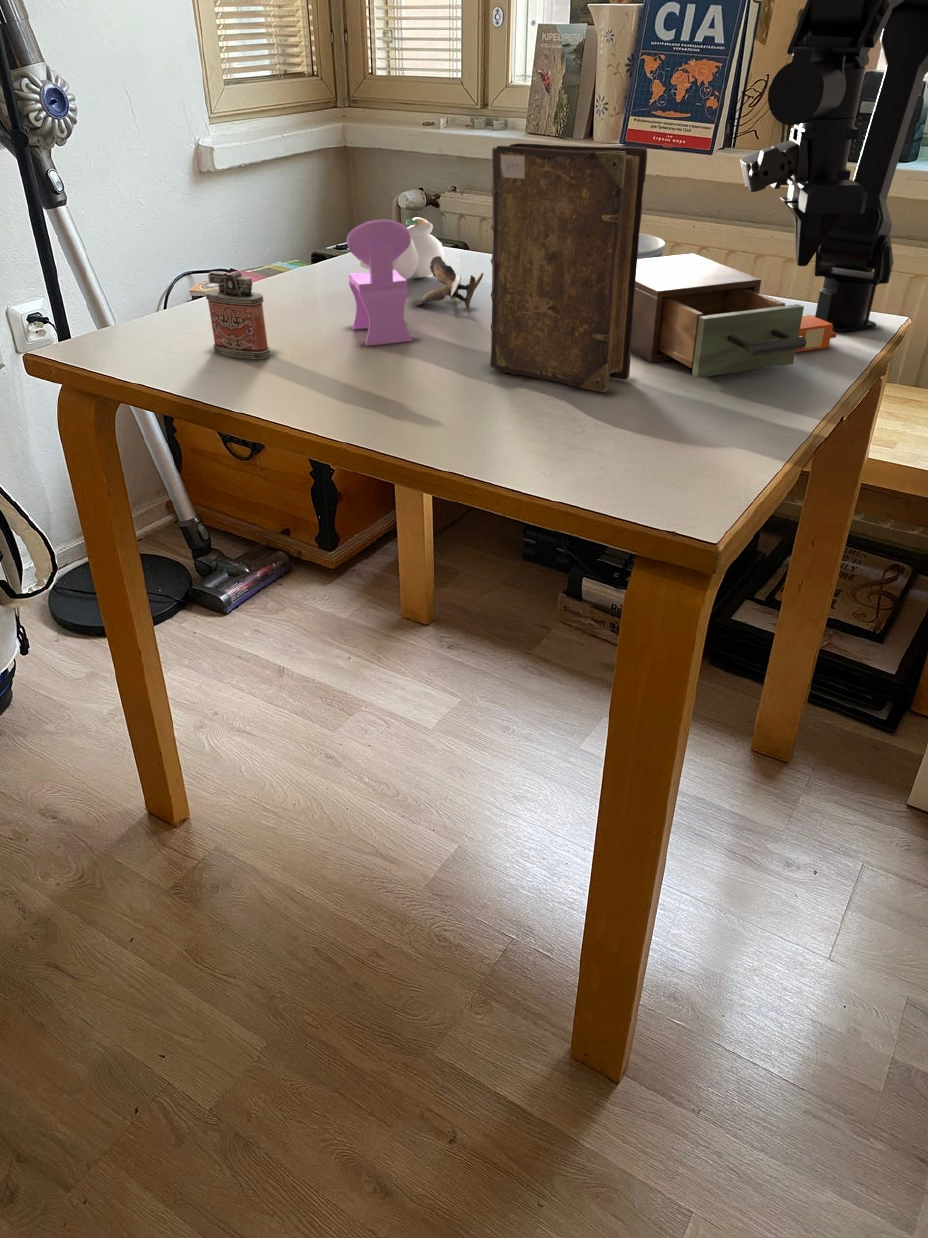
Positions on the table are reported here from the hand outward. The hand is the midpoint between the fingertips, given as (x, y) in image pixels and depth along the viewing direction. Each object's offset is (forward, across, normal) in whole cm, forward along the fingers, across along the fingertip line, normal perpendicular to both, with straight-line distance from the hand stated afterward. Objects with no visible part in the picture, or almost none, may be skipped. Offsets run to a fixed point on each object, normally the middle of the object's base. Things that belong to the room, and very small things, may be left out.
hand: (801, 265), depth 111 cm
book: (+11, +7, -28) cm, 31 cm away
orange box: (+11, -6, +3) cm, 13 cm away
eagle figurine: (+11, -24, -44) cm, 51 cm away
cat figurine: (+12, -40, -52) cm, 67 cm away
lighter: (+11, -1, -69) cm, 70 cm away
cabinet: (+11, -8, -13) cm, 19 cm away
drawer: (+10, +3, -8) cm, 13 cm away
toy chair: (+11, -9, -52) cm, 54 cm away
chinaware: (+12, -30, -20) cm, 38 cm away
